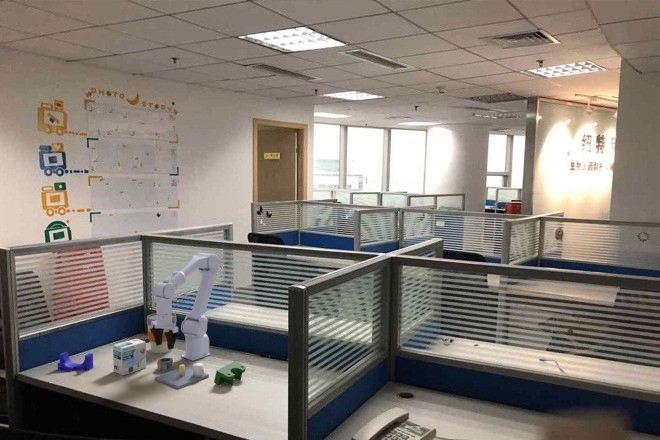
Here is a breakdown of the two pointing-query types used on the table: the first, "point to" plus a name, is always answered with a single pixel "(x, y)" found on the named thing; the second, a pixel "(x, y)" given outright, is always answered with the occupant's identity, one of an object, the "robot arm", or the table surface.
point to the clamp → (229, 373)
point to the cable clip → (69, 365)
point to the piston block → (183, 376)
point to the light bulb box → (129, 356)
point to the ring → (165, 364)
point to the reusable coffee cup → (163, 347)
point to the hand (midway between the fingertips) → (164, 346)
